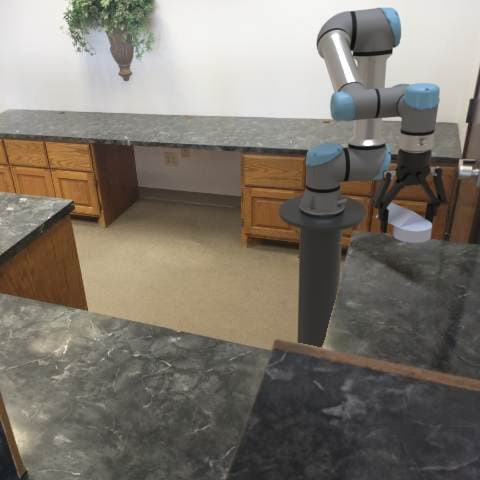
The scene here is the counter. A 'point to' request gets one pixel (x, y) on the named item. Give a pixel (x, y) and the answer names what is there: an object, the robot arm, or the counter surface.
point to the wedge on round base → (408, 225)
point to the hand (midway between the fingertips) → (405, 229)
